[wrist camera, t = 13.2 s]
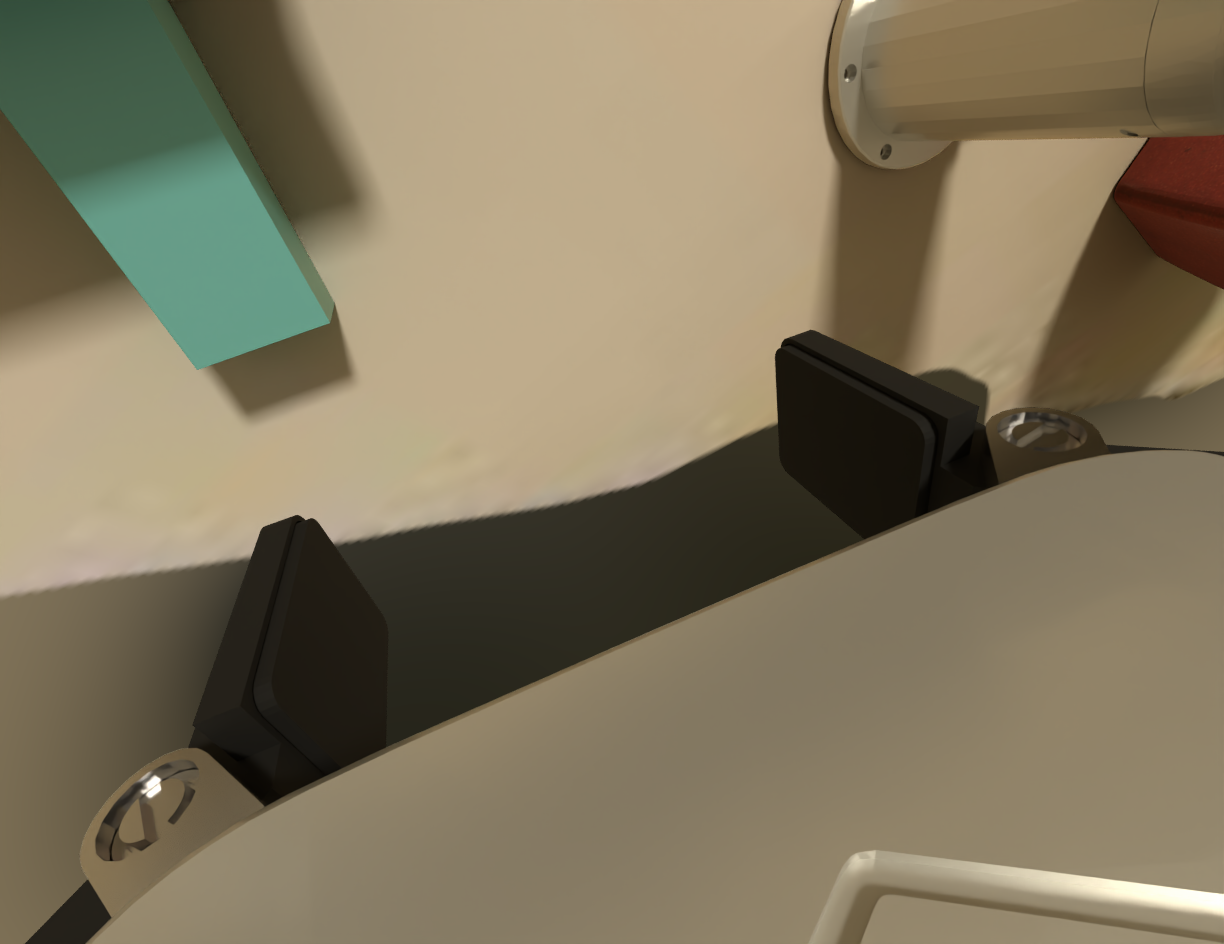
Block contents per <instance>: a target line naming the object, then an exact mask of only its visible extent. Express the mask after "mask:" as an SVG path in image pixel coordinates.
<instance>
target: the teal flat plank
mask: <svg viewBox="0 0 1224 944" xmlns="http://www.w3.org/2000/svg"><path fill="white" fill-rule="evenodd" d="M0 109H1V111H2V112H3V113H4V115H5V116H6V117H7V119H8V120H9V121H10V123H11V124H12V125H13V127H14V128H15V129H16V131H17V132H18V133H19V135H20V136H21V137H22V139H23V140H24V141H25V143H26V144H27V145H28V147H29V148H30V149H31V151H32V152H33V153H34V155H35V156H36V157H37V158H38V160H39V161H40V162H41V164H42V165H43V166H44V168H45V169H46V170H47V172H48V173H49V174H50V176H51V177H52V178H53V180H54V181H55V182H56V184H57V185H58V186H59V188H60V189H61V190H62V192H63V193H64V194H65V196H66V197H67V198H68V200H69V201H70V202H71V204H72V205H73V206H74V207H75V209H76V210H77V211H78V213H79V214H80V215H81V217H82V218H83V219H84V221H85V222H86V223H87V225H88V226H89V227H90V229H91V230H92V231H93V233H94V234H95V235H96V237H97V238H98V239H99V241H100V242H101V243H102V245H103V246H104V247H105V249H106V250H107V251H108V253H109V254H110V255H111V256H112V258H113V259H114V260H115V262H116V263H117V264H118V266H119V267H120V268H121V270H122V271H123V272H124V274H125V275H126V276H127V278H128V279H129V280H130V282H131V283H132V284H133V286H134V287H135V288H136V290H137V291H138V292H139V294H140V295H141V296H142V298H143V299H144V300H145V302H146V303H147V304H148V305H149V307H150V308H151V309H152V311H153V312H154V313H155V315H156V316H157V317H158V319H159V320H160V321H161V323H162V324H163V325H164V327H165V328H166V329H167V331H168V332H169V333H170V335H171V336H172V337H173V339H174V340H175V341H176V343H177V344H178V345H179V347H180V348H181V349H182V351H183V352H184V353H185V354H186V356H187V357H188V358H189V360H190V361H191V362H192V364H193V365H194V366H195V368H196V369H197V370H199V369H201V368H204V367H207V366H210V365H213V364H215V363H218V362H221V361H224V360H227V359H230V358H232V357H235V356H238V355H241V354H244V353H247V352H249V351H252V350H255V349H258V348H261V347H264V346H266V345H269V344H272V343H275V342H278V341H280V340H283V339H286V338H289V337H292V336H295V335H297V334H300V333H303V332H306V331H309V330H312V329H314V328H317V327H320V326H323V325H326V324H328V323H330V322H331V317H332V313H333V309H334V305H335V303H334V301H333V299H332V298H331V296H330V294H329V292H328V290H327V288H326V287H325V285H324V283H323V281H322V279H321V278H320V276H319V274H318V272H317V270H316V268H315V267H314V265H313V263H312V261H311V259H310V258H309V256H308V254H307V252H306V250H305V248H304V247H303V245H302V243H301V241H300V239H299V238H298V236H297V234H296V232H295V230H294V228H293V227H292V225H291V223H290V221H289V219H288V218H287V216H286V214H285V212H284V210H283V209H282V207H281V205H280V203H279V201H278V199H277V198H276V196H275V194H274V192H273V190H272V189H271V187H270V185H269V183H268V181H267V179H266V178H265V176H264V174H263V172H262V170H261V169H260V167H259V165H258V163H257V161H256V159H255V158H254V156H253V154H252V152H251V150H250V149H249V147H248V145H247V143H246V141H245V139H244V138H243V136H242V134H241V132H240V130H239V129H238V127H237V125H236V123H235V121H234V120H233V118H232V116H231V114H230V112H229V110H228V109H227V107H226V105H225V103H224V101H223V100H222V98H221V96H220V94H219V92H218V90H217V89H216V87H215V85H214V83H213V81H212V80H211V78H210V76H209V74H208V72H207V70H206V69H205V67H204V65H203V63H202V61H201V60H200V58H199V56H198V54H197V52H196V50H195V49H194V47H193V45H192V43H191V41H190V40H189V38H188V36H187V34H186V32H185V31H184V29H183V27H182V25H181V23H180V21H179V20H178V18H177V16H176V14H175V12H174V11H173V9H172V7H171V5H170V3H169V1H168V0H0Z"/></svg>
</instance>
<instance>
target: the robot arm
mask: <svg viewBox="0 0 1224 944" xmlns="http://www.w3.org/2000/svg"><path fill="white" fill-rule="evenodd" d="M828 86H829V94H830V103H831V109H832V113H833V116H834V120H835V123H836V127H837V129H838V131H839V133H840V135H841V137H842V139H843V141H844V143H845V144H846V146H847V147H848V148H849V149H850V150H851V152H852V153H853V154H854V155H855V156H856V157H857V158H859V159H860V160H862V161H863V162H864V163H866V164H868V165H871V166H874V167H877V168H881V169H904V168H911V167H914V166H917V165H919V164H922V163H925V162H927V161H928V160H930V159H931V158H933V157H935V156H936V155H938V154H939V153H941V152H942V151H943V150H944V149H945V148H946V147H947V146H949V145H950V144H951V143H952V142H953V141H968V140H1027V139H1086V138H1146V137H1185V136H1218V135H1224V0H843V1H842V3H841V6H840V9H839V12H838V16H837V20H836V24H835V27H834V31H833V36H832V42H831V49H830V56H829V81H828ZM775 366H776V389H777V411H778V432H779V456H780V461H781V464H782V466H783V468H784V469H785V471H786V472H787V473H788V474H789V475H790V476H792V477H793V478H794V479H795V480H796V481H797V482H799V483H800V484H801V485H802V486H803V487H804V488H805V489H807V490H808V491H809V492H810V493H811V494H812V495H814V496H815V497H816V498H817V499H818V500H819V501H821V502H822V503H823V504H824V505H826V507H828V508H829V509H830V510H831V511H832V512H833V513H835V514H836V515H837V516H838V517H839V518H841V519H842V520H843V521H844V522H845V523H846V524H847V525H849V526H850V527H851V528H852V529H853V530H854V531H856V532H857V533H858V534H859V535H860V536H861V537H862V538H864V539H865V540H863V541H860V542H858V543H856V544H853V545H851V546H849V547H846V548H844V549H841V550H839V551H837V552H834V553H832V554H830V555H827V556H825V557H823V558H820V559H818V560H816V561H813V562H811V563H809V564H806V565H804V566H801V567H799V568H797V569H794V570H792V571H790V572H787V573H785V574H783V575H780V576H778V577H776V578H773V579H771V580H769V581H766V582H764V583H762V584H759V585H757V586H755V587H752V588H750V589H748V590H745V591H743V592H741V593H739V594H736V595H734V596H732V597H729V598H727V599H725V600H722V601H720V602H718V603H715V604H713V605H711V606H709V607H706V608H704V609H701V610H699V611H697V612H694V613H692V614H690V615H687V616H685V617H683V618H681V619H678V620H676V621H674V622H671V623H669V624H667V625H664V626H662V627H660V628H657V629H655V630H653V631H651V632H648V633H646V634H644V635H641V636H639V637H637V638H634V639H632V640H630V641H628V642H625V643H623V644H621V645H618V646H616V647H614V648H611V649H609V650H607V651H605V652H602V653H600V654H598V655H595V656H593V657H591V658H589V659H586V660H584V661H582V662H579V663H577V664H575V665H572V666H570V667H568V668H566V669H563V670H561V671H559V672H557V673H554V674H552V675H550V676H547V677H545V678H543V679H541V680H538V681H536V682H534V683H531V684H529V685H527V686H525V687H522V688H520V689H518V690H515V691H513V692H511V693H509V694H506V695H504V696H502V697H500V698H497V699H495V700H493V701H491V702H488V703H486V704H484V705H481V706H479V707H477V708H474V709H472V710H470V711H468V712H465V713H463V714H461V715H459V716H456V717H454V718H452V719H449V720H447V721H445V722H443V723H440V724H438V725H436V726H434V727H431V728H429V729H427V730H425V731H422V732H420V733H418V734H416V735H414V736H411V737H409V738H407V739H405V740H402V741H400V742H398V743H395V744H393V745H391V746H389V747H386V719H387V716H386V715H387V670H388V628H387V624H386V621H385V618H384V616H383V614H382V613H381V611H380V610H379V609H378V607H377V606H376V604H375V603H374V601H373V600H372V599H371V597H370V596H369V594H368V593H367V591H366V590H365V589H364V587H363V586H362V584H361V583H360V581H359V580H358V579H357V577H356V576H355V574H354V573H353V571H352V570H351V569H350V567H349V566H348V564H347V563H346V561H345V560H344V559H343V558H342V556H341V554H340V553H339V551H338V550H337V549H336V547H335V546H334V544H333V543H332V541H331V540H330V539H329V537H328V536H327V534H326V533H325V531H324V530H323V529H322V527H321V526H320V524H319V523H318V522H317V521H316V520H315V519H313V518H310V519H308V520H305V519H304V518H302V517H301V516H299V515H295V516H292V517H290V518H287V519H284V520H281V521H278V522H276V523H273V524H270V525H267V526H265V527H263V528H262V529H261V531H260V534H259V537H258V540H257V543H256V545H255V548H254V551H253V554H252V557H251V560H250V563H249V565H248V569H247V571H246V574H245V577H244V580H243V583H242V585H241V588H240V591H239V594H238V597H237V600H236V603H235V605H234V608H233V611H232V614H231V617H230V619H229V622H228V625H227V628H226V631H225V634H224V637H223V640H222V643H221V645H220V649H219V651H218V654H217V657H216V660H215V662H214V665H213V668H212V671H211V674H210V677H209V679H208V682H207V685H206V688H205V691H204V694H203V696H202V699H201V702H200V705H199V708H198V711H197V713H196V716H195V719H194V722H193V726H194V727H195V730H194V733H193V736H192V739H191V741H190V744H189V748H183V749H180V750H177V751H174V752H171V753H168V754H166V755H163V756H162V757H160V758H158V759H156V760H155V761H153V762H151V763H149V764H148V765H146V766H145V767H143V768H142V769H141V770H139V771H138V772H137V773H136V774H134V775H133V776H132V777H131V778H129V779H128V780H127V781H126V782H125V783H124V784H123V785H122V786H121V787H120V788H119V789H118V790H117V791H116V792H115V793H114V794H113V795H112V796H111V797H110V798H109V799H108V800H107V802H106V803H105V804H104V806H103V807H102V808H101V810H100V811H99V812H98V814H97V815H96V816H95V818H94V819H93V821H92V823H91V825H90V827H89V829H88V831H87V833H86V835H85V837H84V839H83V843H82V847H81V852H80V856H79V857H80V861H81V866H82V870H83V872H84V873H85V875H86V877H87V878H88V880H87V881H86V882H85V883H84V884H83V885H82V886H81V887H80V888H79V889H78V890H77V891H76V892H75V893H74V894H73V895H72V896H71V897H70V898H69V899H68V900H67V901H66V902H65V903H64V904H63V905H62V906H61V907H60V908H59V909H58V910H57V911H56V913H54V915H52V916H51V918H50V919H49V920H48V921H47V922H46V923H45V924H44V925H43V926H42V927H41V928H40V929H39V930H38V931H37V932H36V933H35V934H34V935H33V936H32V937H31V938H30V939H29V940H28V941H27V942H26V943H25V944H1224V452H1214V451H1199V450H1182V449H1165V448H1149V447H1132V446H1115V445H1106V444H1105V442H1104V440H1103V438H1102V436H1101V434H1100V433H1099V431H1098V430H1097V429H1096V428H1095V427H1094V426H1093V424H1091V423H1090V422H1088V421H1086V420H1085V419H1083V418H1081V417H1079V416H1076V415H1073V414H1071V413H1068V412H1065V411H1060V410H1055V409H1050V408H1037V407H1027V408H1015V409H1010V410H1006V411H1002V412H1000V413H998V414H996V415H994V416H992V417H991V418H990V419H989V421H988V422H987V423H986V426H984V425H982V424H980V423H978V422H976V419H977V414H978V409H979V406H977V405H974V404H972V403H970V402H968V401H966V400H964V399H962V398H959V397H957V396H955V395H953V394H951V393H949V392H946V391H944V390H942V389H940V388H938V387H935V386H933V385H931V384H929V383H927V382H925V381H923V380H920V379H918V378H916V377H914V376H912V375H910V374H907V373H905V372H903V371H901V370H899V369H897V368H894V367H892V366H890V365H888V364H886V363H884V362H881V361H879V360H877V359H875V358H873V357H871V356H868V355H866V354H864V353H862V352H860V351H858V350H855V349H853V348H851V347H849V346H847V345H845V344H843V343H840V342H838V341H836V340H834V339H832V338H830V337H827V336H825V335H823V334H821V333H819V332H817V331H814V330H809V331H806V332H803V333H800V334H798V335H795V336H792V337H789V338H787V339H784V341H783V342H782V344H781V348H779V349H778V350H777V351H776V354H775Z"/></svg>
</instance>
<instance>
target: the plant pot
mask: <svg viewBox="0 0 1224 944" xmlns="http://www.w3.org/2000/svg"><path fill="white" fill-rule="evenodd" d="M1114 199H1115V201H1116V202H1117V204H1118V205H1119V207H1120V208H1121V209H1122V210H1123V211H1124V213H1125V214H1126V216H1127V217H1128V218H1129V219H1130V221H1131V222H1132V223H1133V225H1134V226H1135V227H1136V229H1137V230H1138V231H1139V232H1140V234H1141V235H1142V236H1143V238H1144V239H1145V240H1146V241H1147V243H1148V244H1149V245H1150V247H1151V248H1152V249H1153V250H1154V252H1155V253H1156V255H1158V256H1159V257H1161V258H1162V259H1164V260H1166V261H1168V262H1170V263H1171V264H1173V265H1175V266H1177V267H1179V268H1181V269H1183V270H1185V271H1187V272H1189V273H1191V274H1193V275H1195V276H1197V277H1199V278H1201V279H1203V280H1205V281H1207V282H1209V283H1211V284H1213V285H1215V286H1217V287H1220V288H1222V289H1224V135H1218V136H1185V137H1151V138H1150V139H1149V141H1148V142H1147V144H1146V145H1145V146H1144V148H1143V149H1142V151H1141V152H1140V153H1139V155H1138V156H1137V158H1136V159H1135V160H1134V162H1133V163H1132V165H1131V166H1130V168H1129V169H1128V170H1127V172H1126V173H1125V175H1124V176H1123V177H1122V179H1121V180H1120V182H1119V183H1118V185H1117V187H1116V190H1115V194H1114Z"/></svg>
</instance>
